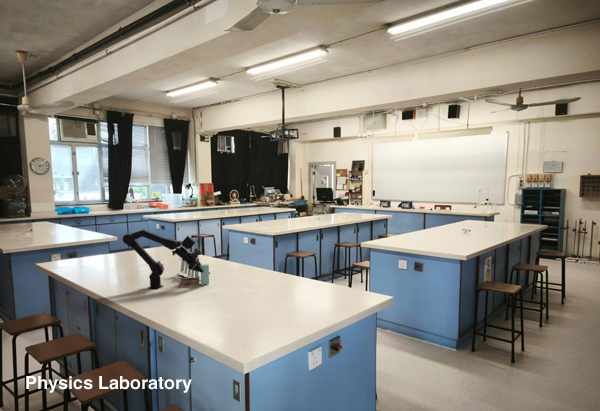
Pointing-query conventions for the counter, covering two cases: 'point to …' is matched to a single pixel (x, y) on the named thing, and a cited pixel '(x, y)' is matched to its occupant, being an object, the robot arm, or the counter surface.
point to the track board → (189, 282)
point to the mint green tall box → (205, 274)
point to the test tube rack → (188, 270)
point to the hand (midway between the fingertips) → (203, 270)
